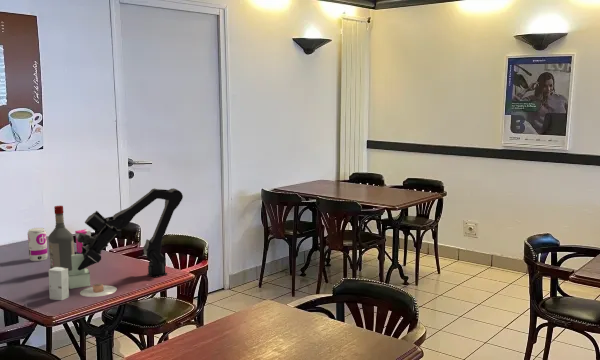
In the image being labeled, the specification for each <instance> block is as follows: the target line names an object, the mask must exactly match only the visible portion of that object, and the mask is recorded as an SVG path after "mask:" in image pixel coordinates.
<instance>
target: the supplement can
mask: <svg viewBox="0 0 600 360" xmlns="http://www.w3.org/2000/svg"><path fill="white" fill-rule="evenodd" d="M27 245H28V256H29V260H30V261H31V262H42V261H45V260H47V259H48V258H49V253H48V242H47V232H46V230H45V228H43V227H34V228H30V229H28V230H27Z"/></svg>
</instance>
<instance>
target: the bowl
mask: <svg viewBox="0 0 600 360" xmlns="http://www.w3.org/2000/svg"><path fill="white" fill-rule="evenodd" d="M103 286H104V283H102V282H101V283H95V284H92V287H93V292H95V293H98V292H103V291H104V287H103Z"/></svg>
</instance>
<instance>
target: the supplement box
mask: <svg viewBox="0 0 600 360" xmlns="http://www.w3.org/2000/svg"><path fill="white" fill-rule="evenodd" d="M74 233H75V243H76V254H81V252H82V246H83V245H82V244H83V243H80V242H78V240H77V239H78V236H79V234H80V233H83V234H86V235H89V236H91V235H92V233H91V230H90V229H87V228H86V229H85V228H84V229H79V230H75V231H74ZM83 247H84V246H83Z"/></svg>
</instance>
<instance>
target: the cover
mask: <svg viewBox="0 0 600 360" xmlns="http://www.w3.org/2000/svg"><path fill="white" fill-rule="evenodd" d="M71 260H72V270H70V271H68V285H69V289H70V290H72V289H79V288H86V287H91V274H90V271H89V269H88V267H86V268H84V269H82V270H80V271H79V270H78V267H79V265H80V264H81V262H82V261H83V260H84V256H83V254H79V253H76V254H75V253H74V255H71Z"/></svg>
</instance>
